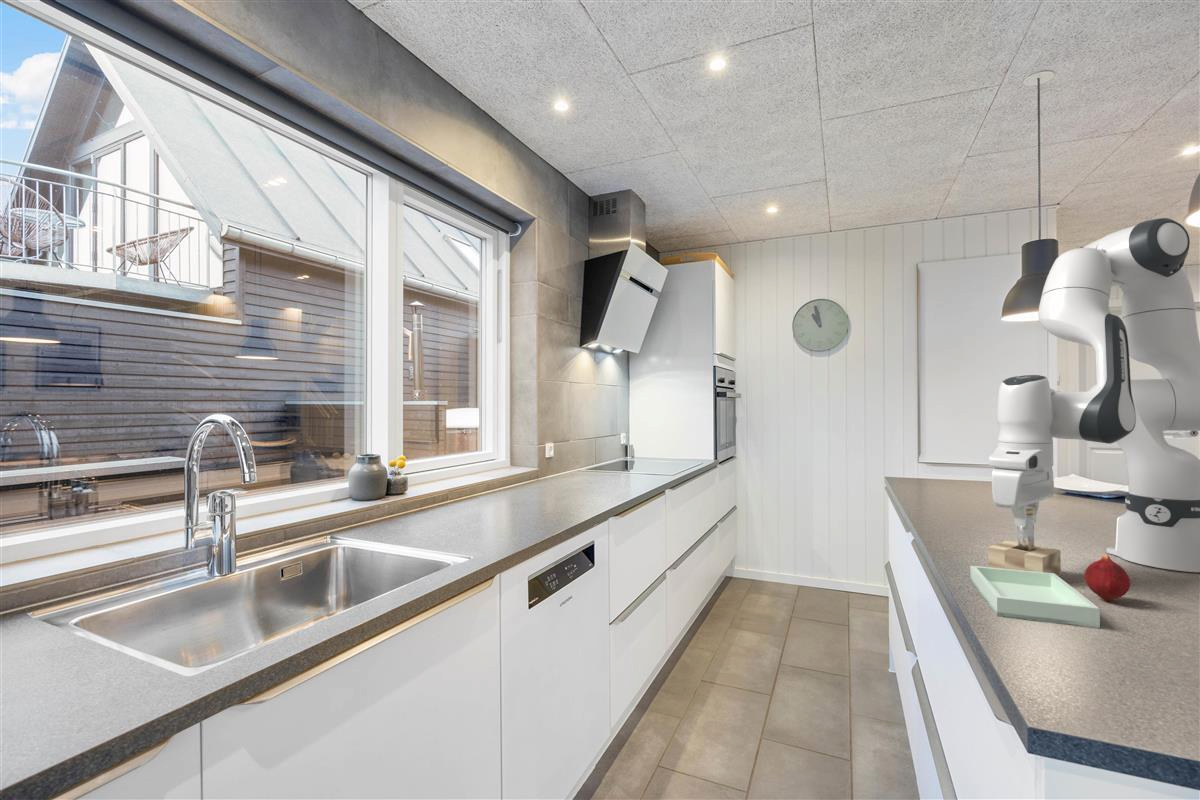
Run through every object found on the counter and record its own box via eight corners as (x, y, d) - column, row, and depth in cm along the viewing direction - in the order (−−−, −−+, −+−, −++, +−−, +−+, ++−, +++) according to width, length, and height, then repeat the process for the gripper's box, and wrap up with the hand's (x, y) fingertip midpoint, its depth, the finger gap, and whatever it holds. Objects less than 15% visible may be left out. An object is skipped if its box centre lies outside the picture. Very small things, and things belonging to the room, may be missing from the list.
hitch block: (1007, 563, 114) (1007, 540, 114) (1060, 575, 107) (1060, 550, 107) (988, 571, 109) (988, 547, 109) (1042, 584, 102) (1042, 557, 102)
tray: (970, 581, 104) (970, 565, 104) (1054, 589, 99) (1054, 573, 99) (997, 615, 87) (996, 597, 87) (1099, 628, 82) (1099, 608, 82)
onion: (1140, 608, 90) (1139, 560, 90) (1100, 606, 91) (1099, 559, 91) (1114, 595, 95) (1113, 551, 95) (1076, 594, 96) (1076, 549, 96)
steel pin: (1021, 555, 110) (1020, 507, 110) (1036, 558, 107) (1035, 509, 107) (1015, 558, 108) (1014, 508, 108) (1031, 561, 106) (1030, 510, 106)
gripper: (1026, 450, 116) (1027, 514, 116) (984, 459, 105) (985, 529, 105) (1063, 453, 111) (1064, 519, 111) (1023, 462, 99) (1024, 536, 100)
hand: (1025, 524), depth 108 cm, fingers closed on steel pin, 3 cm apart
